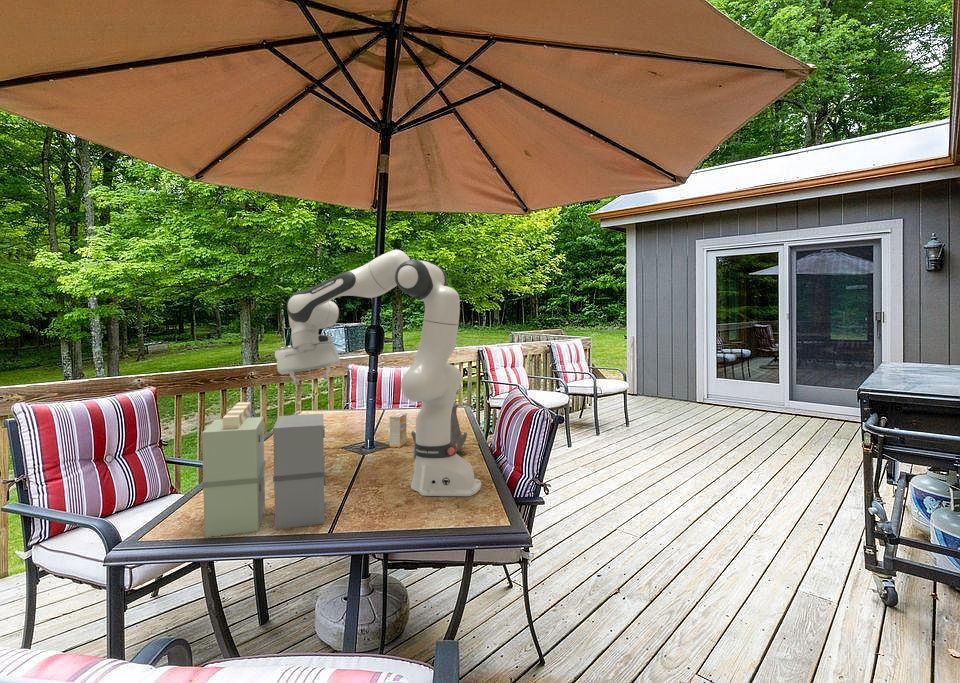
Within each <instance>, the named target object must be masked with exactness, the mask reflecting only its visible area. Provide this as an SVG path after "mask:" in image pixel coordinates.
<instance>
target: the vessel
mask: <svg viewBox="0 0 960 683" xmlns="http://www.w3.org/2000/svg"><path fill="white" fill-rule="evenodd" d="M422 404H423V402H420V408H421V407H422ZM457 408H458V403H457V402H455V401H454V404H453V408H452V413H451V425H450V441H451V442H452V443H453V444H456V443H457V448H456V453H457V452H458V451H459V450H460V449H461V448H462V447H463V446H464V444H465V443H466V441H467V440H466V439H467V436H468V433H467V432H466V431H464V432H463V433H462V432H461V428H460V423H459V419H458V412H457V410H458V409H457ZM410 434H411V437H412V440H413V442H414V443H415V442H416V431H415V430H412V431H411V433H410Z"/></svg>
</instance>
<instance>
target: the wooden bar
mask: <svg viewBox="0 0 960 683" xmlns="http://www.w3.org/2000/svg"><path fill="white" fill-rule="evenodd" d="M250 414H252V401H241V402H240V401H239V402H237V403H236V404H235V405H234V406H233V407H231V408H230V410H229V411H228V412H227V413H226V414H225V415H224V416H223V417H222V419H223V429H239V427H240V426H241V425H242V423H243V422H244V421H245V419H246V418H249V416H250Z"/></svg>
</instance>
